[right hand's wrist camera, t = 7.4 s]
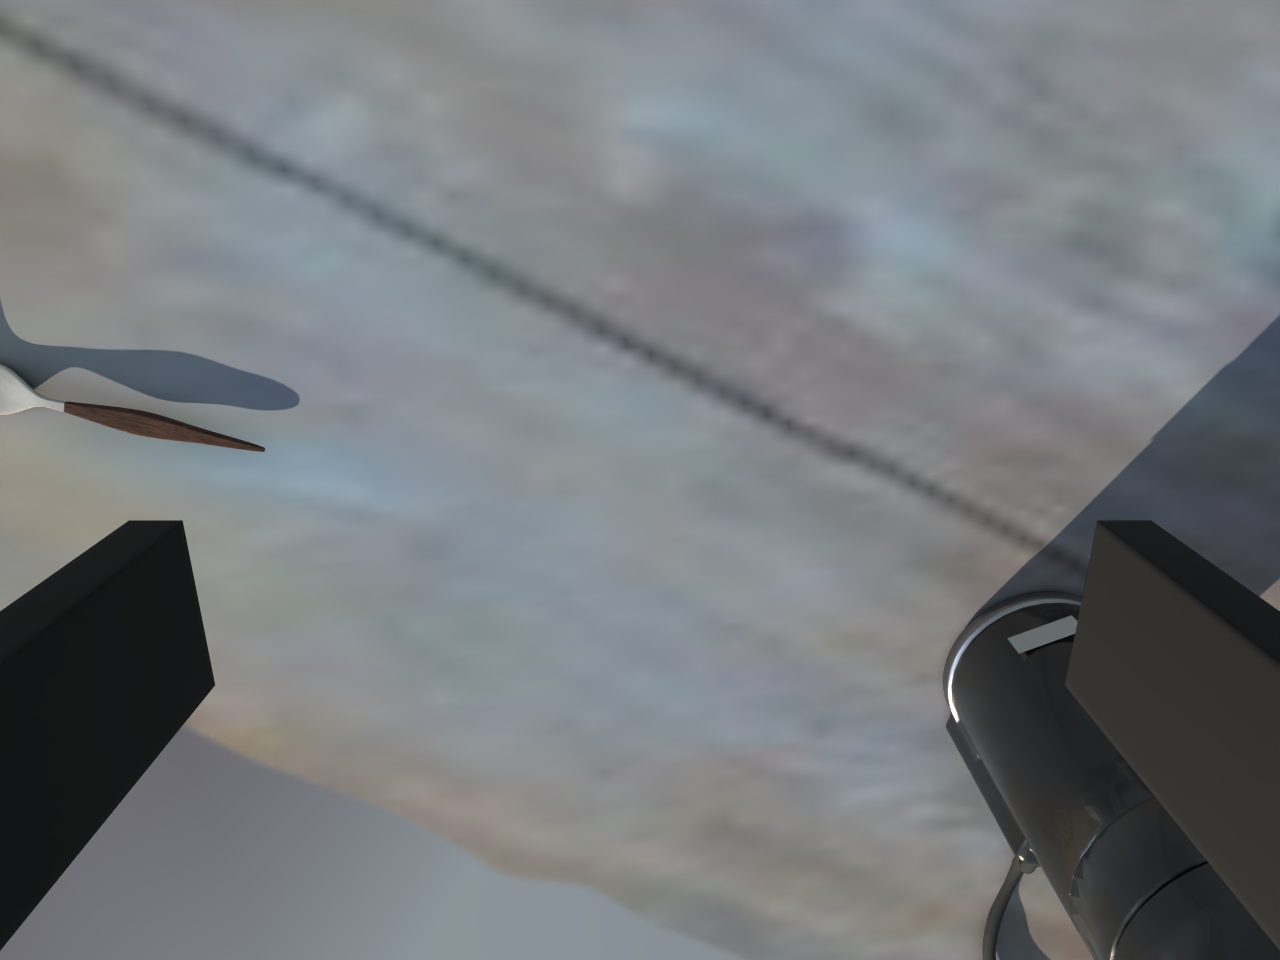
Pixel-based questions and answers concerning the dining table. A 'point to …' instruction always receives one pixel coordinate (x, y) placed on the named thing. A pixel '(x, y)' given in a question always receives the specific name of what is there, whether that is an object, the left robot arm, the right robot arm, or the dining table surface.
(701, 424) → the dining table surface
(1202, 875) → the left robot arm
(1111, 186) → the dining table surface
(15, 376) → the fork
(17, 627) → the right robot arm
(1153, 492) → the dining table surface
